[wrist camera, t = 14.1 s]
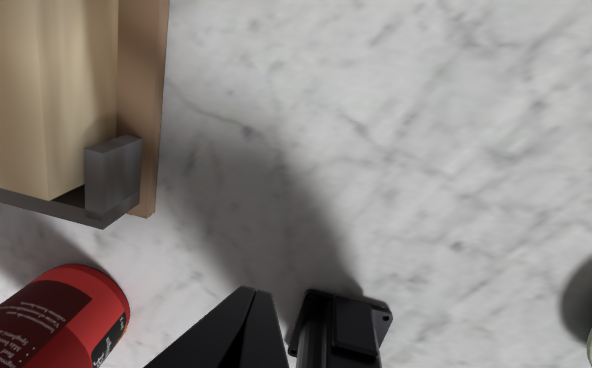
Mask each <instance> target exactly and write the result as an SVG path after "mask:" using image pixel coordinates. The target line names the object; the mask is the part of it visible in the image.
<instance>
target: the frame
mask: <svg viewBox="0 0 592 368" xmlns="http://www.w3.org/2000/svg"><path fill="white" fill-rule="evenodd" d="M169 1H170V0H119V1H118V59H117V116H116V138H114V139H111V140H108V141H105V142H102V143H99V144H96V145H93V146H90V147H87V148H84V179H85V184H83V185H81V186H79V187H77V188H75V189H73V190H71V191H68V192H66V193H64V194H62V195H60V196H58V197H56V198H54V199H52V200H50V201H47V200H43V199H40V198H36V197H32V196H29V195H25V194H21V193H17V192H14V191H10V190H6V189H2V188H0V202H1V203H5V204H9V205H12V206H16V207H20V208H24V209H27V210H31V211H35V212H39V213H42V214H46V215H50V216H54V217H57V218H61V219H65V220H69V221H72V222H76V223H80V224H84V225H87V226H91V227H95V228H99V229H102V230H103V229H105V228H106V227H107V226H109V225H110V224H112V223H113V222H114V221H116V220H117V219H118V218H120V217H121V216H123V215H124V214H125V213H127V214H131V215H135V216H139V217H142V218H146V219H147V218H148V217H149V216H150V215H152V214H153V213H154V212H155V198H156V184H157V170H158V156H159V142H160V128H161V114H162V99H163V85H164V71H165V57H166V43H167V29H168V15H169Z"/></svg>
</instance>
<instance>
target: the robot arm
mask: <svg viewBox="0 0 592 368" xmlns="http://www.w3.org/2000/svg"><path fill="white" fill-rule="evenodd" d="M309 296H314V297H309ZM383 316H387V317H383ZM392 320H393V316H392V312H391V311H390V310H388V309H385V308H381V307H378V306H374V305H370V304H366V303H363V302H359V301H355V300H351V299H348V298H344V297H340V296H336V295H333V294H329V293H325V292H321V291H318V290H314V289H309V290H307V291H306V292H305V295H304V298H303V301H302V304H301V308H300V311H299V314H298V317H297V320H296V323H295V327H294V330H293V333H292V336H291V339H290V342H289V346H288V354H289V355H290V356H293V357H296V358H297V361H296V368H382V364H381V358H380V352H379V348H380V346H381V344H382V342H383V339H384V337H385V335H386V333H387V331H388V329H389V327H390V325H391V323H392ZM143 368H289V364H288V360H287V356H286V351H285V347H284V343H283V339H282V334H281V330H280V326H279V322H278V317H277V313H276V309H275V305H274V300H273V296H272V294H271V293H269V292H265V291H261V290H257V291H256V290H255V289H254V288H250V287H247V286H240V287H239V288H237V289H236V290H235V291H234V292H233V293H232V294H230V295H229V296H228V297H227V298H226V299H224V300H223V301H222V302H221V303H220V304H218V305H217V306H216V307H215V308H214V309H212V310H211V311H210V312H209V313H208V314H207V315H205V316H204V317H203V318H202V319H201V320H199V321H198V322H197V323H196V324H195V325H193V326H192V327H191V328H190V329H189V330H187V331H186V332H185V333H184V334H183V335H182V336H180V337H179V338H178V339H177V340H176V341H174V342H173V343H172V344H171V345H170V346H168V347H167V348H166V349H165V350H164V351H162V352H161V353H160V354H159V355H158V356H156V357H155V358H154V359H153V360H152V361H151V362H149V363H148V364H147V365H146V366H145V367H143Z"/></svg>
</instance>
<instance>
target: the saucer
mask: <svg viewBox="0 0 592 368" xmlns="http://www.w3.org/2000/svg"><path fill="white" fill-rule="evenodd" d="M587 356H588V359H589V362H590V364H591V366H592V329H591V331H590V333H589V336H588V340H587Z"/></svg>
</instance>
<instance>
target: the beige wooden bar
mask: <svg viewBox="0 0 592 368" xmlns="http://www.w3.org/2000/svg"><path fill="white" fill-rule="evenodd" d="M118 1H119V0H0V188H2V189H6V190H10V191H14V192H17V193H21V194H25V195H29V196H32V197H36V198H40V199H43V200H47V201H50V200H52V199H54V198H56V197H58V196H60V195H62V194H64V193H66V192H68V191H71V190H73V189H75V188H77V187H79V186H81V185H83V184H85V179H84V148H87V147H90V146H93V145H96V144H99V143H102V142H105V141H108V140H111V139H114V138H116V116H117V59H118Z"/></svg>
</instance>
